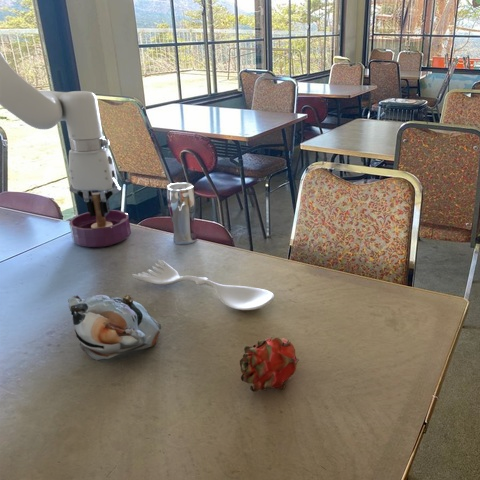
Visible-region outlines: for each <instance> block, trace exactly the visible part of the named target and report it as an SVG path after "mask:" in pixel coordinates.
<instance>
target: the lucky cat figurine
mask: <svg viewBox="0 0 480 480" xmlns="http://www.w3.org/2000/svg"><path fill="white" fill-rule="evenodd" d="M67 302H68V309H69V312H71V313H70V314H71V316H72V325H73V329H74V332H75V336H76V339H77V341H78V342H79V346H80V348H81V350H82V351H83V352H85V353H86V354H87V355H89V356H90V357H91V359H92V360H94V361H100V360H104V359H105V360H109V359H112V358H114V357H116V356H118V355H121V354H124V353H129V352H134V351H139V350H144V349H148V348H150V347H154V346H156V344H157V341H158V339H159V335H160V330H161V329H162V325H161V323H159V322H158V321H157V320H156V319H155V318H154V317H152V316H151V315H150V313H149V312H148V310H147V308H145V307H144V305H142V304H141V303H139V302H137V301H135V300H134V298H133V297H132V296H131V295H129V294H125V295H124V296H123V297H122V298H121V297H113V296H108V295H106V294H95V295H92V296H89V297H87V298H81V297H80V296H79V295H73V296H71V297H70V298H69V299H67Z"/></svg>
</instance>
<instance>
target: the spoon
mask: <svg viewBox="0 0 480 480" xmlns="http://www.w3.org/2000/svg"><path fill="white" fill-rule="evenodd" d="M154 265H155V266H154ZM154 265H152V266H151V268H152V269H153V270H152V269H146V271H147V272H148V273H147V272H145V271H141V272H137V274H136V273H132V274H131V276H132V278H134V279H136V280H138V281H141V282H146V283H150V284H153V285H159V286H165V285H166V286H168V285H173V284H177V283H180V282H192V283H195V284H196V285H197V286H204V285H205V286H209V287H211V288H212V289H214V291H215V293H216V294H217V297H218V298H219V300H220V301H221V302H222V304H224V306H225V305H226V306H227V307H229V308H230V309H234V310H238V311H254V310H259V309H263V308H266V307H267V306H269V305H271V303H272V302H273V301H274V299H275V295H274V293H273V292H272V291H270V290H267V289H265V288H259V287H253V286H246V285H245V286H243V285H230V284H228V285H227V284H220V283H217V282H214V281H211V280H209V278H208V277H206V276H202V277H201V276H200V277H199V276H195V275H183V276H182V275H181V276H180V274H179V272H178V271H177V270H176V269H175V268H173V267H172V266H171V265H169V264H168V263H167V262H165V261H164V260H163V259H162V258H157V262H154Z"/></svg>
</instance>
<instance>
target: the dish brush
mask: <svg viewBox="0 0 480 480" xmlns="http://www.w3.org/2000/svg"><path fill="white" fill-rule="evenodd" d="M92 200H93V205H94V211H95V216H96V222H97V223H94V224H92V225H91V229H96V228H104V227H109V226H113V224H112V222H108V221H106V220H105V217H103V216H102V215H101V209H100V202H101V197H100V192H98V191H97V192H92Z"/></svg>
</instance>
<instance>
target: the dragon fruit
mask: <svg viewBox="0 0 480 480" xmlns="http://www.w3.org/2000/svg"><path fill="white" fill-rule="evenodd" d="M243 352H244V353H243V354H242V358H241V359H240V360H239V366H240V372H241V376H240V380H241V381H242V382H245V383H246V384H253V385H250V386H249V390H250V391H251V392H253V393H257V392H259V391H264V390H267V389H272V388H273V389H275V390H278V389H280V391H282V390H284V389H285V387H286V386H285V383H284V382H285V381H287V380H289V379H290V378H291V377H292V376H293V375H294V374H295V372H296V370H297V365H298V362H299V358H297V356H296V348H295V346H294V344H293V342H292V341H290V340H289V339H287V338H285V337H283V338H280V337H274V338H273V337H272V336H270V337H268V338H266V339H261V340H258V341H257V343H256V344H253V345H252V346H251V345H245V346H244V348H243Z"/></svg>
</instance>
